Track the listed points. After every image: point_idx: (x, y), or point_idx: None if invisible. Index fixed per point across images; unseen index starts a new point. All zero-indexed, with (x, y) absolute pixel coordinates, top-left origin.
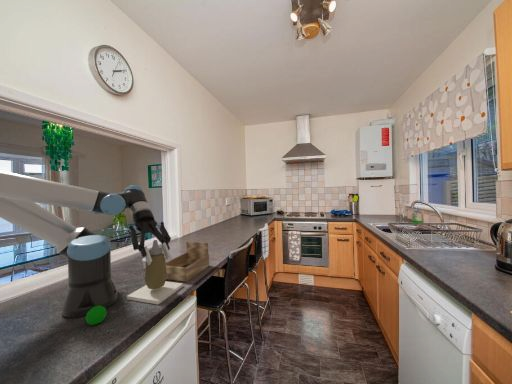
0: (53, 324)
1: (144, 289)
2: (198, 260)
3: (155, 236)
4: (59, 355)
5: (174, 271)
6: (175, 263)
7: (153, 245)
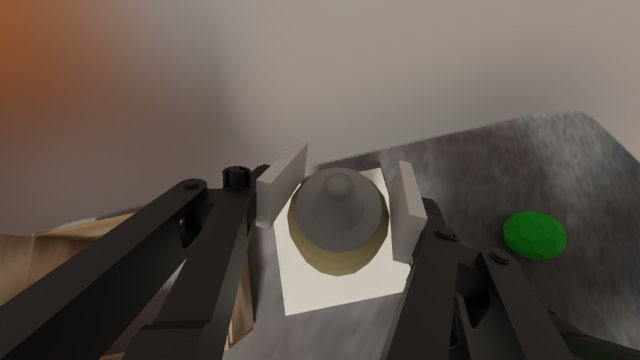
0: None
1: (356, 275)
2: (126, 215)
3: (228, 327)
4: (597, 184)
5: None
6: None
7: (358, 195)
